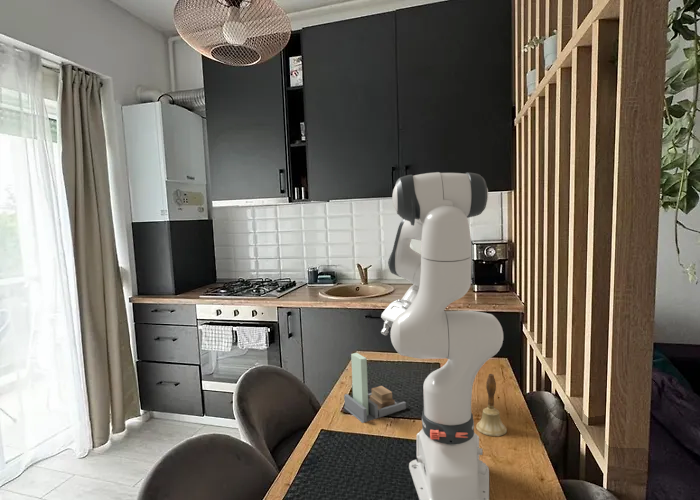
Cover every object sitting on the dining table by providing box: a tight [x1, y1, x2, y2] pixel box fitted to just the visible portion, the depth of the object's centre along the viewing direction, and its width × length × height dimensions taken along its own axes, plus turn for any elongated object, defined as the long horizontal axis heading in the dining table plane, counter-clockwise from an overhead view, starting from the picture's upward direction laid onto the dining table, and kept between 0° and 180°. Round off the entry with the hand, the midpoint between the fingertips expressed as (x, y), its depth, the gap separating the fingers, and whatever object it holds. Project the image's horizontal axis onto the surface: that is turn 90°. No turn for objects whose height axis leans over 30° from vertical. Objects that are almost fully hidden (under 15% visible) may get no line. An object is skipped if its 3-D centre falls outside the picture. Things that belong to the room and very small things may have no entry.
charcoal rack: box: [343, 392, 407, 424], centre depth 128 cm, size 16×12×5 cm
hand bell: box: [475, 373, 508, 437], centre depth 115 cm, size 8×8×16 cm
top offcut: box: [370, 385, 393, 403], centre depth 130 cm, size 4×6×2 cm, turn 29°
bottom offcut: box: [370, 395, 396, 409], centre depth 130 cm, size 5×7×2 cm
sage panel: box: [350, 352, 369, 415], centre depth 125 cm, size 2×6×18 cm, turn 29°
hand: (391, 337), depth 130 cm, fingers open, 8 cm apart
